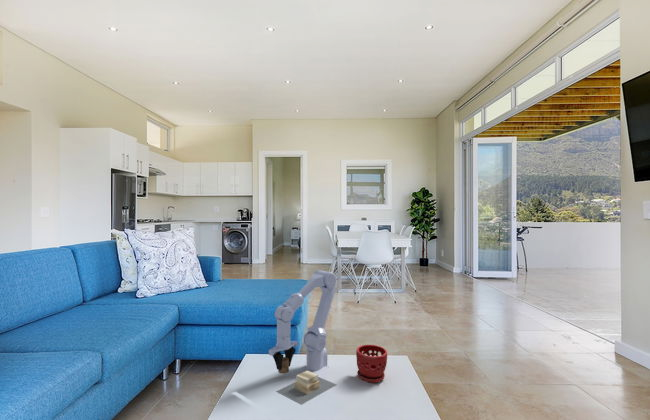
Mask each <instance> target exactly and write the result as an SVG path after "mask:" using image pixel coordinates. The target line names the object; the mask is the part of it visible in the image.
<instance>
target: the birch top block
mask: <svg viewBox="0 0 650 420" xmlns="http://www.w3.org/2000/svg"><path fill="white" fill-rule="evenodd" d="M318 377H319V374H317V373H315V372H312V371H311V370H305V371H302V372H301V373H298V374H297V375H296V382H298V383H300V384H302V385H305V386H307V387H308V386H310V385H312V384H314V383H316V382H317V381H318Z"/></svg>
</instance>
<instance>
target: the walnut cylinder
mask: <svg viewBox="0 0 650 420" xmlns="http://www.w3.org/2000/svg"><path fill="white" fill-rule="evenodd" d="M277 370H278V369H277ZM289 371H290V366H289V358H287V357H285V356H283V359H282V369H281V370H278V371H277V372H278V373H279V374H287V373H289Z"/></svg>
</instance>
